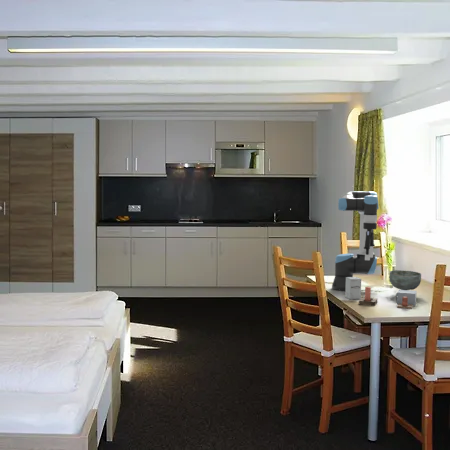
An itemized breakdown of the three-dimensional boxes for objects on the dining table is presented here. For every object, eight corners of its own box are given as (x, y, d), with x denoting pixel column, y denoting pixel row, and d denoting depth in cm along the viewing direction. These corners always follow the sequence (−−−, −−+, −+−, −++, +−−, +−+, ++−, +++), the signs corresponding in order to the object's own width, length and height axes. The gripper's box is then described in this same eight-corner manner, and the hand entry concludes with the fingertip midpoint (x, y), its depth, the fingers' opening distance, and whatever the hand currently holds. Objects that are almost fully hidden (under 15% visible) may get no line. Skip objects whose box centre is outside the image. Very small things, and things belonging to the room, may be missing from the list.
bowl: (399, 299, 382) (399, 275, 381) (382, 294, 401) (383, 270, 399) (427, 298, 387) (428, 274, 386) (410, 292, 406) (411, 269, 405)
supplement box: (349, 299, 381) (350, 278, 380) (344, 297, 388) (345, 276, 387) (361, 299, 383) (361, 278, 382) (356, 296, 390) (356, 276, 389)
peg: (365, 303, 370) (365, 286, 369) (370, 303, 368) (371, 287, 368) (364, 304, 367) (364, 287, 366) (369, 305, 365) (370, 287, 365)
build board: (361, 301, 377) (362, 297, 377) (377, 302, 374) (377, 298, 373) (359, 304, 366) (359, 300, 366) (374, 305, 363) (374, 302, 363)
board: (398, 305, 366) (398, 294, 366) (412, 306, 363) (413, 295, 363) (397, 307, 359) (397, 297, 358) (411, 308, 356) (412, 298, 356)
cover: (398, 301, 378) (399, 289, 377) (416, 302, 374) (416, 290, 374) (397, 304, 368) (397, 292, 368) (414, 305, 365) (415, 293, 364)
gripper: (366, 220, 377) (365, 255, 378) (360, 223, 353) (359, 260, 355) (379, 221, 374) (378, 256, 376) (373, 224, 351) (372, 261, 353)
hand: (369, 258), depth 365 cm, fingers open, 13 cm apart
